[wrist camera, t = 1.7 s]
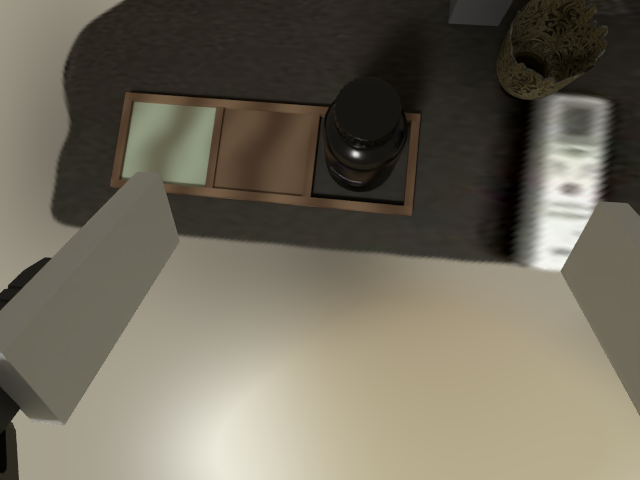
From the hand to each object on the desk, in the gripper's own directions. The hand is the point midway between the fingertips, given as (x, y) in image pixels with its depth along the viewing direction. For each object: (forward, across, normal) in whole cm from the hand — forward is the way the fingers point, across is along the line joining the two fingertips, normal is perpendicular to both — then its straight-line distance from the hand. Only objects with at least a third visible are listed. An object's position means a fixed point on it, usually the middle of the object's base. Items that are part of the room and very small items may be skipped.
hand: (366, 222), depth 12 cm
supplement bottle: (+26, 0, -11) cm, 28 cm away
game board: (+26, -10, -11) cm, 29 cm away
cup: (+32, +15, -5) cm, 35 cm away
